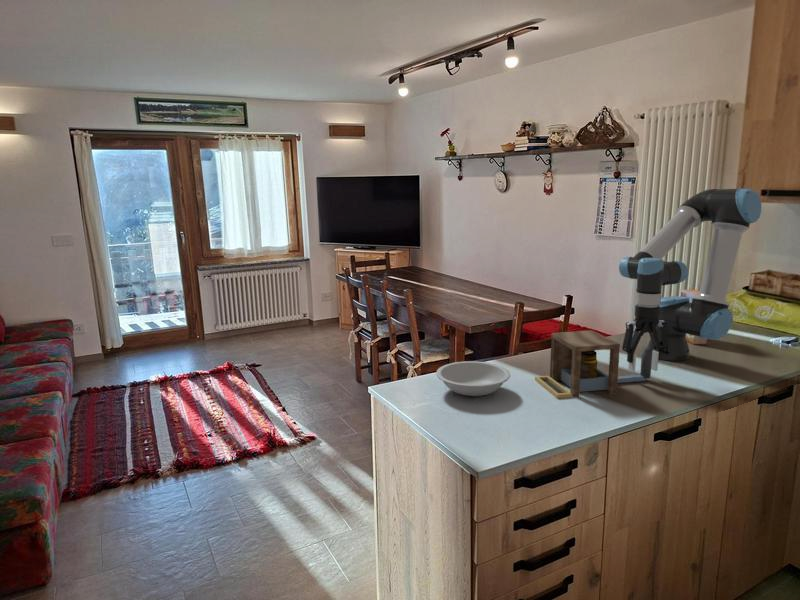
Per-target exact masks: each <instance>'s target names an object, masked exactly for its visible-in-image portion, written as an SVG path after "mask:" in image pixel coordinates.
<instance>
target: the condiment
mask: <svg viewBox="0 0 800 600" xmlns="http://www.w3.org/2000/svg"><path fill="white" fill-rule="evenodd" d="M597 369H598V359H597V350H592V351H581V368H580V379H585V378H596V377H597Z"/></svg>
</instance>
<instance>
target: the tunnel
mask: <svg viewBox="0 0 800 600" xmlns="http://www.w3.org/2000/svg"><path fill="white" fill-rule="evenodd" d="M550 340H551V342H550V360H549V361H550V362H549V363H550V365H549V366H550V369H549V371H550V372H549V376H550V377H551V378H552V379H554V380H555V381H556V382H557V381H559V380H560V381H561V369H571V388H569V389H570V390H569V392H570V393H572V396H573V397H572V398H576V397H577V398H579V397H580V392H579V387H580V368H581V351H592V350H594V351H603V350H609V363H608V364H609V365H608V376H609V377H608V389H607V392H608V393H609V394H617V392H618V383H617V381H618V376H619V365H620V364H619V362H620V361H619V360H620V349H621V348H620V347H621V343H619V342H618V341H615V340H613V339H611V338H609V337H607V336H605V335H603V334H601V333H599V332H597V331H594V330H591V329H590V330H576V331H561V332H551V339H550Z"/></svg>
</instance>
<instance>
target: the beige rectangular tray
mask: <svg viewBox="0 0 800 600" xmlns="http://www.w3.org/2000/svg"><path fill="white" fill-rule="evenodd" d="M534 381H535V382H537V383H538V384H539V385H540V386H541V387H542V388H543V389H545V390H546V391H547V392H548V393H550V394H551V395H552V396H553V397H554V398H555V399H566V398H567V397H568V398H573V397H572V393H570V390H569V389H566V388H565V387H564V386H562V385H561V384H560V383H559V382H558V381H557V380H556V381H555V380H554V379H552V378H551V377H550V375H542V376H541V375H539V376H538V375H537V376H534Z"/></svg>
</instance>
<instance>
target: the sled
mask: <svg viewBox="0 0 800 600" xmlns="http://www.w3.org/2000/svg"><path fill="white" fill-rule="evenodd" d="M652 351H653V349H652V348H649V347H647V346H645V347H644V346H643V347H642V348H641V361H640V362H641V363H640V374H632V375H631V374H630V375H621V376H620V375H618V381H617V384H621V383H633V382H635V383H636V382H644V381H645V382H646V381H648V379H650V378H652V377H651V374H652V369H651V364H652ZM608 377H609V374H607V373H605V372H603V371H602V370H600V369H598V368H597V377H596V378H585V379H580V387H579V393H581V392H583V393H584V392H591V391H603V390H608ZM560 381H562V383H564V384H565V385H567V386H568V387H570V388H571V369H561V380H560ZM570 388H569V389H570Z"/></svg>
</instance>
